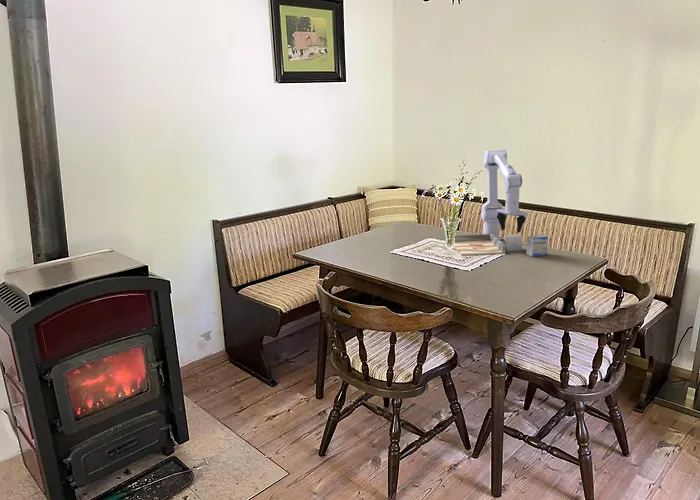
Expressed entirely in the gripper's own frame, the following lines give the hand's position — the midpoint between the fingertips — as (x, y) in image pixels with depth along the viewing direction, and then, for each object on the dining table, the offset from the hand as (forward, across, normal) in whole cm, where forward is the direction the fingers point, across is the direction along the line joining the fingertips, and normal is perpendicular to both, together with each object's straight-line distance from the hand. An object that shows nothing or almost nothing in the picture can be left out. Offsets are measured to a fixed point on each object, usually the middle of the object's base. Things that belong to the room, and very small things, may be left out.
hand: (510, 230), depth 245 cm
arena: (+10, -16, -2) cm, 19 cm away
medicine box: (+10, +12, +3) cm, 16 cm away
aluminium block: (+10, 0, +4) cm, 11 cm away
